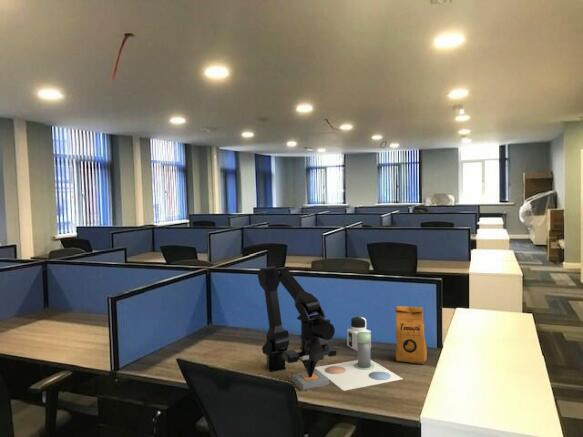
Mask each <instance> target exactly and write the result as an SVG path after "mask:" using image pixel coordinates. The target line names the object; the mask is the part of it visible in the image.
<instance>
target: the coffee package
mask: <svg viewBox="0 0 583 437" xmlns="http://www.w3.org/2000/svg"><path fill="white" fill-rule="evenodd" d="M395 321H396V322H395V340H396V346H395V361H397V362H405V363H411V364H420V365H425V362H426V361H427V360H428V359H427V357H428V356H427V354H428V353H427V352H428V346H427V342H426V340H425V323H424V308H423V306H422V307H419V306H405V305H404V306H401V305H395Z"/></svg>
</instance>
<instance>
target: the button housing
mask: <svg viewBox="0 0 583 437" xmlns="http://www.w3.org/2000/svg"><path fill="white" fill-rule="evenodd" d="M313 373H314V374H315V375H316V376H318V377H319V378H320V379H314V380H309V381H306V380H305V379H303V378H302V377H301V375H307V371H304V372H300V373H299V372H298V373H293V374H291V379H292V380H291V381H292V383H294V385H296V386H297V387H298V388H299V389H300V390H301V391H302V392H307V391H308V389H312V388H318V387H322V386H327V385H330V380H329V379H328V378H327V377H326V376H324V375H323V374H322V373H320V372H319V371H318V370H317V369H314V372H313Z"/></svg>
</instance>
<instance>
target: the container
mask: <svg viewBox="0 0 583 437" xmlns="http://www.w3.org/2000/svg"><path fill="white" fill-rule="evenodd" d="M350 323H351V324H350V327H351V328H347V330H346V335H347V336H346V339H347V340H346V342H347V343H346V344H347V347H349V348H350V349H353V350H354V351H357V333H359V332H368V333H370V334H371V335H372V331H371V330H370V329H367V319H366V317H363V316H354V317H352V318H351V319H350ZM371 348H372V341H371V342H370V349H371Z"/></svg>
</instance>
